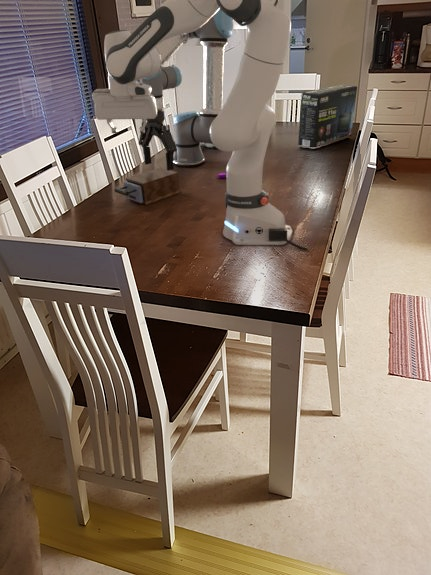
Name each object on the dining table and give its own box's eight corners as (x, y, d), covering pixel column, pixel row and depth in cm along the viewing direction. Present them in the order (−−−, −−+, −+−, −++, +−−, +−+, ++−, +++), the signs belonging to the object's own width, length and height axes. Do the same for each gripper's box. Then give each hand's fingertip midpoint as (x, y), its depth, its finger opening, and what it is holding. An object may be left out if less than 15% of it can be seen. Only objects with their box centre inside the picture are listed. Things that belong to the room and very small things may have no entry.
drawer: (129, 207, 171) (126, 190, 167) (114, 201, 177) (111, 185, 173) (173, 191, 184) (171, 176, 180) (157, 187, 190) (156, 171, 186)
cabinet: (145, 204, 175) (143, 183, 171) (128, 198, 182) (125, 178, 177) (179, 192, 186) (178, 172, 181) (162, 187, 192) (160, 167, 188)
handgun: (217, 176, 201) (217, 172, 200) (234, 175, 202) (234, 170, 201) (227, 191, 184) (227, 187, 183) (245, 189, 185) (245, 185, 184)
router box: (314, 151, 231) (318, 94, 217) (296, 148, 237) (299, 92, 224) (352, 138, 251) (358, 85, 238) (335, 135, 258) (340, 83, 245)
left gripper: (125, 107, 175) (132, 163, 186) (168, 114, 160) (172, 174, 170) (141, 105, 179) (146, 159, 190) (184, 111, 164) (187, 170, 175)
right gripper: (88, 90, 144) (95, 135, 151) (153, 89, 143) (157, 134, 150) (93, 87, 149) (100, 131, 157) (156, 86, 149) (159, 130, 156)
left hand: (159, 166), depth 180 cm, fingers open, 13 cm apart
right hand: (128, 132), depth 154 cm, fingers open, 8 cm apart
